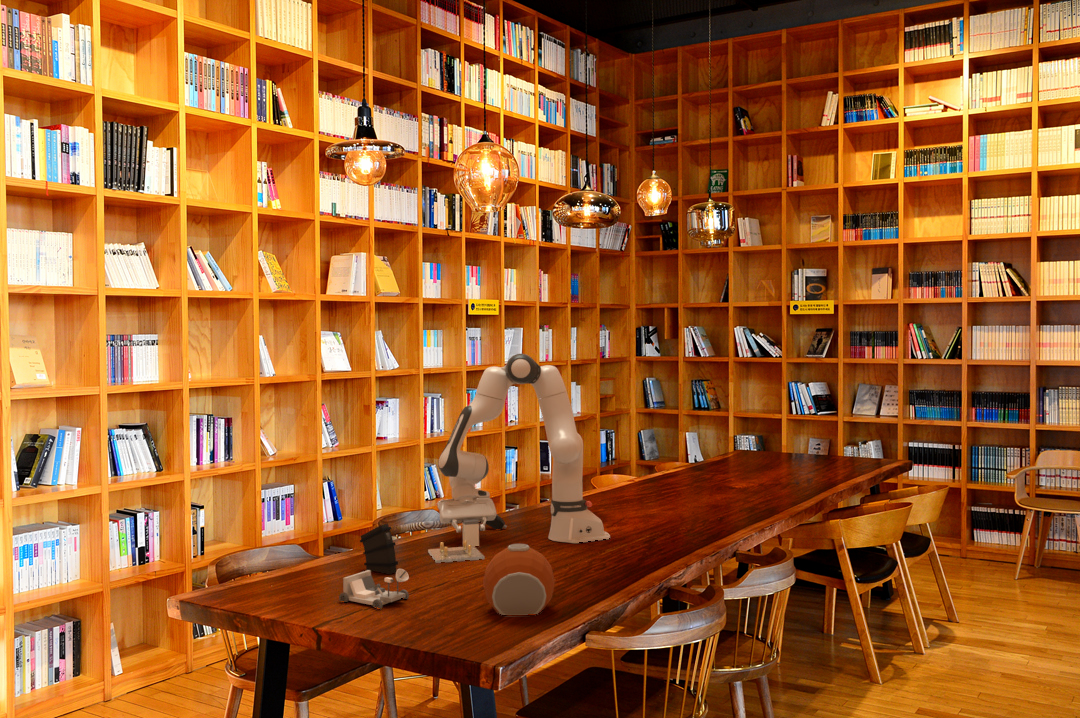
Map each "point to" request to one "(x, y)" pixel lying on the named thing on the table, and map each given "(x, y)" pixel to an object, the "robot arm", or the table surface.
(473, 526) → the block
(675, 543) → the table surface
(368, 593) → the toy lunar rover
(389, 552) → the black ribbed panel
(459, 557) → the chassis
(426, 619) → the table surface
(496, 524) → the gun
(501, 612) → the alarm clock
